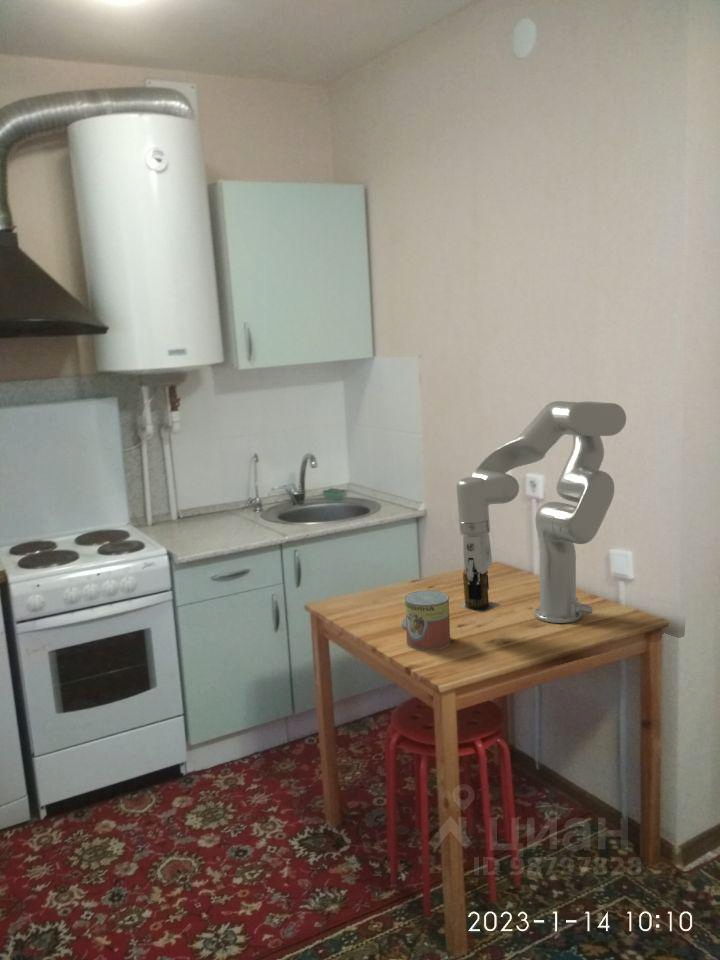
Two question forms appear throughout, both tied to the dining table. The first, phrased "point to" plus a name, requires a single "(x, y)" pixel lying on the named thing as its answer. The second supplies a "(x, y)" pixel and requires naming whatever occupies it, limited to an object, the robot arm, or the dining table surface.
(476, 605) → the condiment
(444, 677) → the dining table surface
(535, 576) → the dining table surface
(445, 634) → the canned food
